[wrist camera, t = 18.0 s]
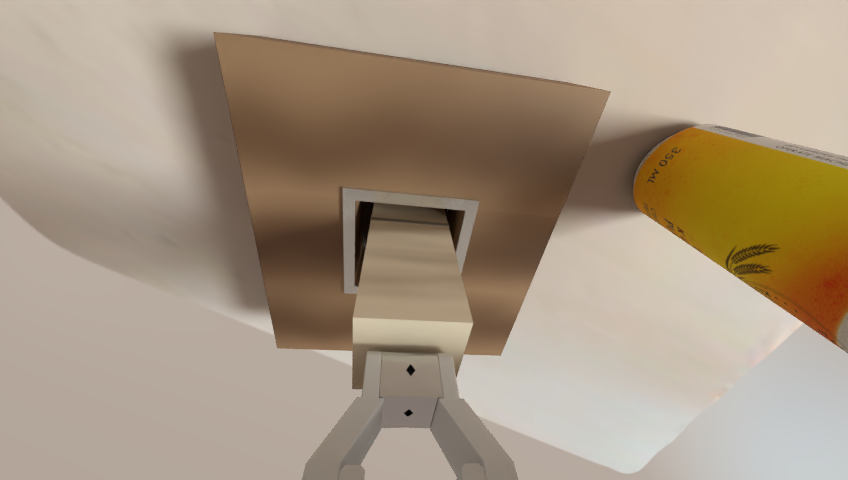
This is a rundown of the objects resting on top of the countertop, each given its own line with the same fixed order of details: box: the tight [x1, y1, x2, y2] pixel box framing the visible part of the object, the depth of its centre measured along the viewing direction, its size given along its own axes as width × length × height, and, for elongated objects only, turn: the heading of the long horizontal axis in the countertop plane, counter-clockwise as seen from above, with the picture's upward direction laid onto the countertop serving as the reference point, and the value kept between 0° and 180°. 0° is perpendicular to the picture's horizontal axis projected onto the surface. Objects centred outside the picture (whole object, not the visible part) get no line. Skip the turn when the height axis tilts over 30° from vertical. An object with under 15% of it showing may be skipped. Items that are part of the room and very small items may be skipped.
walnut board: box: [214, 32, 611, 356], centre depth 18 cm, size 18×16×4 cm
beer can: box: [633, 124, 848, 353], centre depth 13 cm, size 6×6×15 cm
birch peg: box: [352, 202, 473, 389], centre depth 16 cm, size 4×4×11 cm
